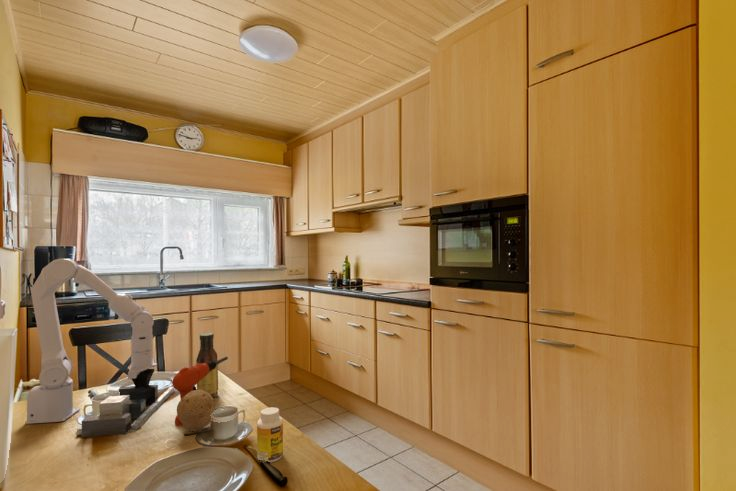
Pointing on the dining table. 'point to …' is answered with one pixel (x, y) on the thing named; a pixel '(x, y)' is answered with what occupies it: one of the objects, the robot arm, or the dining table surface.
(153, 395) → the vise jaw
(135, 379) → the robot arm
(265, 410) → the supplement bottle
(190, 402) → the natural sponge
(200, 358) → the sauce bottle
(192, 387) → the toy drill
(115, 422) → the vise base
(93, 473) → the dining table surface
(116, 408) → the steel block
